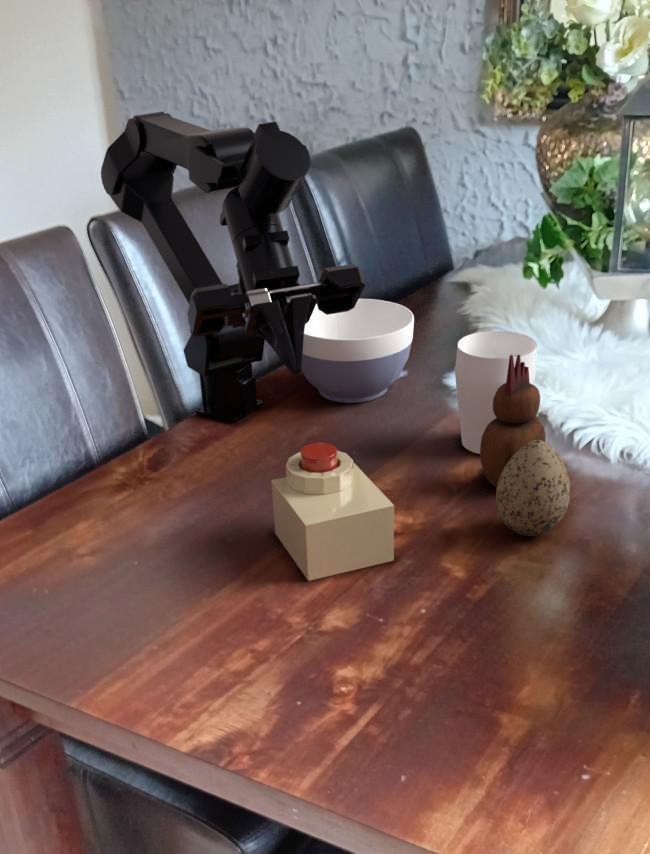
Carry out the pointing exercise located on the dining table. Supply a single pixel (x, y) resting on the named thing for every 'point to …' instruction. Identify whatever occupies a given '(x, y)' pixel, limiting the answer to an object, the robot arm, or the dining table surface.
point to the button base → (332, 519)
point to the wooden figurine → (511, 421)
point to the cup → (486, 377)
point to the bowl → (357, 350)
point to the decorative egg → (533, 490)
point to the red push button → (319, 458)
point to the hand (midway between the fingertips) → (296, 373)
